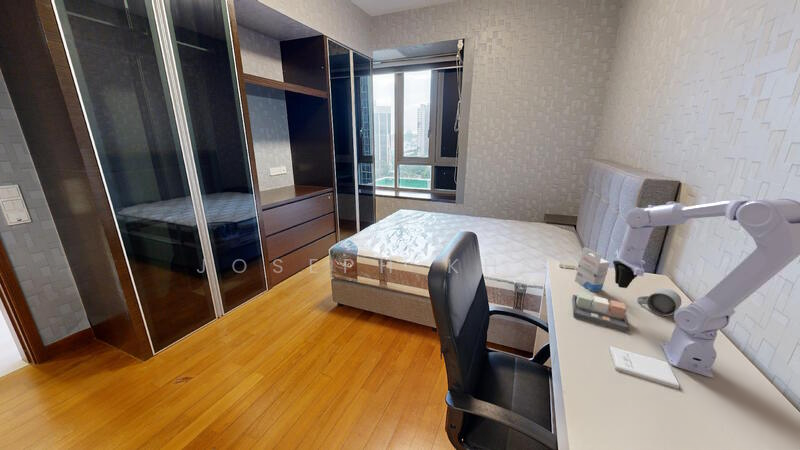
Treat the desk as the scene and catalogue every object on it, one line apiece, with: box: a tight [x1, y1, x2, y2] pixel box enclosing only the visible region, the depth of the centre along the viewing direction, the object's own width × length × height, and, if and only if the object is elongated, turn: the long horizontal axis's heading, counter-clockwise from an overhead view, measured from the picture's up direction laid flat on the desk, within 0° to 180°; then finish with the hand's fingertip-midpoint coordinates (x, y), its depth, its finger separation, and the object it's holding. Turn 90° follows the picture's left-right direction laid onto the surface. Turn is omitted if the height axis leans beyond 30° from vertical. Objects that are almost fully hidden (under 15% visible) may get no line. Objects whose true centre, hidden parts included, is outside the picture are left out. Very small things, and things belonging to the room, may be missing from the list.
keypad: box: [571, 294, 630, 333], centre depth 94 cm, size 12×14×2 cm
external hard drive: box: [608, 346, 680, 389], centre depth 73 cm, size 2×8×12 cm
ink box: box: [574, 246, 611, 292], centre depth 109 cm, size 8×5×15 cm, turn 13°
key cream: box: [592, 295, 610, 313], centre depth 93 cm, size 4×4×3 cm
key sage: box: [576, 291, 592, 309], centre depth 95 cm, size 4×4×3 cm
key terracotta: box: [608, 299, 627, 318], centre depth 91 cm, size 4×4×3 cm
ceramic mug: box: [636, 288, 683, 317], centre depth 98 cm, size 11×8×8 cm
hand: (620, 285), depth 92 cm, fingers closed
